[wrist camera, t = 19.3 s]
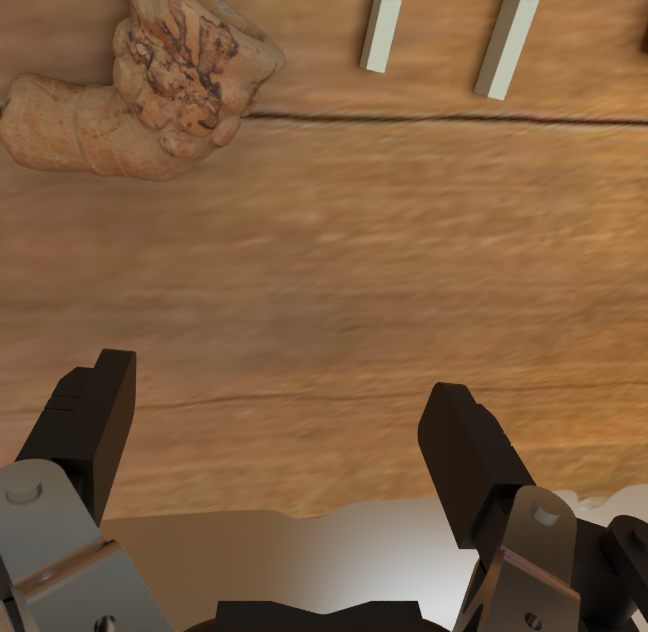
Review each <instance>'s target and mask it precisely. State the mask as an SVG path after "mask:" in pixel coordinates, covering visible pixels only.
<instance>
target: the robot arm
mask: <svg viewBox="0 0 648 632" xmlns="http://www.w3.org/2000/svg"><path fill="white" fill-rule="evenodd" d="M135 395H136V352H135V351H125V350H114V349H103V350H102V352H101V354H100V356H99V358H98V360H97V362H96V364H95V366H94V368H85V367H76V368H75V369H73V370H72V371H71V372H69V373H68V374H67V375H65V376H64V377H63V378H61V379H60V381H59V382H58V384H57V386H56V388H55V390H54V391H53V393H52V396H51V398H50V399H49V400H48V402H47V404H46V406H45V408H44V411H42V413H41V415H40V417H39V419H38V420H37V422H36V424H35V426H34V428H33V429H32V431H31V433H30V435H29V437H28V438H27V440H26V442H25V444H24V446H23V447H22V449H21V451H20V453H19V455H18V456H17V458H16V460H15V461H14V463H11V464H9V465H6V466H4V467H2V468H1V469H0V602H1V605H2V608H3V611H4V613H5V616H6V618H7V621H8V623H9V626H10V628H11V631H12V632H174V631H173V629H172V627H171V626H170V624H169V623H168V621H167V619H166V618H165V616H164V615H163V613H162V611H161V610H160V608H159V606H158V605H157V603H156V601H155V600H154V598H153V596H152V595H151V593H150V592H149V590H148V589H147V587H146V585H145V583H144V582H143V580H142V578H141V577H140V575H139V574H138V572H137V570H136V569H135V567H134V566H133V564H132V562H131V561H130V559H129V557H128V556H127V554H126V552H125V551H124V549H123V548H122V546H121V545H120V544H119V543H118V542H117V541H115V540H111V541H109V542H107V541H106V540H105V539H104V537H103V536H102V534H101V532H100V531H99V526H100V522H101V520H102V516H103V513H104V510H105V507H106V504H107V500H108V497H109V494H110V491H111V488H112V484H113V481H114V478H115V475H116V472H117V469H118V465H119V462H120V459H121V456H122V453H123V449H124V446H125V443H126V440H127V437H128V433H129V430H130V427H131V424H132V420H133V415H134V408H135ZM418 443H419V446H420V449H421V452H422V454H423V457H424V459H425V462H426V465H427V467H428V470H429V473H430V475H431V478H432V480H433V483H434V486H435V488H436V491H437V493H438V496H439V499H440V501H441V504H442V506H443V509H444V511H445V514H446V517H447V519H448V522H449V525H450V527H451V530H452V532H453V535H454V538H455V540H456V543H457V545H458V548H459V549H477V551H478V553H479V556H480V557H479V559H478V561H477V562H476V564H475V567H474V570H473V573H472V576H471V579H470V582H469V585H468V588H467V591H466V594H465V596H464V599H463V603H462V605H461V608H460V611H459V614H458V617H457V620H456V623H455V626H454V628H453V631H452V632H639V630H638V628H637V626H636V625H635V623H634V621H633V620H632V618H631V616H632V615H633V614H634V613H635V612H636V611H637V609H638V608H639V610H640V612H641V613H642V615H643V617H644V618H645V620H646V622H647V623H648V523H646V522H644V521H642V520H640V519H638V518H635V517H632V516H628V515H619V516H617V517H615V518H614V519H613V520H612V521H611V523H610V524H609V525H608V527H607V528H606V527H603V526H600V525H597V524H594V523H591V522H588V521H585V520H581V519H579V518H576V517H575V515H574V513H573V511H572V510H571V508H570V507H569V506H568V505H567V503H566V502H565V501H563V500H562V499H561V498H560V497H559V496H557V495H556V494H554V493H552V492H551V491H549V490H547V489H545V488H542V487H539V486H537V485H536V484H535V482H534V480H533V479H532V477H531V476H530V474H529V472H528V471H527V469H526V467H525V466H524V464H523V462H522V461H521V459H520V457H519V456H518V454H517V452H516V451H515V449H514V447H513V446H511V442H510V441H509V439H508V438H507V436H506V434H504V431H503V429H502V428H501V426H500V424H499V423H498V421H497V419H496V418H495V417H494V416H493V415H492V414H491V413H490V412H489V411H488V410H487V409H486V408H485V407H484V406H483V405H481V404H476V402H475V400H474V398H473V397H472V395H471V393H470V391H469V390H468V388H467V387H466V386H465V385H463V384H453V383H443V382H438V383H436V384H435V385H434V387H433V389H432V392H431V394H430V397H429V399H428V402H427V405H426V407H425V410H424V412H423V415H422V417H421V420H420V422H419V426H418ZM184 632H450V631H449V630H447V629H445V628H443V627H442V626H440V625H438V624H436V623H433V622H431V621H429V620H426V619H423V618H422V615H421V611H420V608H419V604H418V601H370V602H367V603H363V604H360V605H356V606H353V607H350V608H347V609H343V610H340V611H337V612H333V613H330V614H323V615H322V614H317V613H313V612H310V611H306V610H302V609H298V608H294V607H290V606H287V605H283V604H279V603H276V602H272V601H218V606H217V612H216V617H215V618H214V619H211V620H207V621H204V622H202V623H199V624H197V625H195V626H192V627H190V628H189V629H187V630H185V631H184Z"/></svg>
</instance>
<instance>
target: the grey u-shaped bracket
mask: <svg viewBox="0 0 648 632" xmlns="http://www.w3.org/2000/svg"><path fill="white" fill-rule="evenodd" d="M401 1H402V0H374V1H373V5H372V10H371V15H370V19H369V24H368V28H367V33H366V38H365V42H364V47H363V52H362V56H361V61H360V67H363V68H365V69H368V70H373V71H377V72H382V73H384V72H385V68H386V63H387V59H388V55H389V51H390V47H391V43H392V38H393V34H394V30H395V26H396V22H397V18H398V13H399V9H400V5H401ZM538 2H539V0H503V3H502V6H501V9H500V12H499V15H498V18H497V21H496V24H495V27H494V30H493V33H492V36H491V39H490V43H489V46H488V49H487V52H486V55H485V58H484V61H483V64H482V67H481V70H480V73H479V76H478V80H477V83H476V86H475V89H474V93H477V94H480V95H484V96H487V97H491V98H495V99H500V100H504V98H505V95H506V92H507V89H508V87H509V84H510V81H511V78H512V75H513V72H514V70H515V67H516V64H517V61H518V58H519V56H520V53H521V50H522V47H523V44H524V42H525V39H526V36H527V33H528V30H529V27H530V25H531V22H532V19H533V16H534V13H535V11H536V8H537V5H538Z"/></svg>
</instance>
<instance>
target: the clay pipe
mask: <svg viewBox="0 0 648 632" xmlns="http://www.w3.org/2000/svg"><path fill="white" fill-rule="evenodd" d="M129 9H130V16H129V17H128V18H126V19H124V20H123V21H121V22H119V23H118V25H117V28H116V31H115V34H114V39H113V43H112V48H113V54H114V56H115V57H116V58H115V61H114V64H113V73H112V74H113V84H112V85H108V86H105V85H101V84H89V85H88V86H87V87H81V86H77V85H74V84H71V83H67V82H63V81H56V80H54V79H50V78H46V77H42V76H39V75H36V74H32V73H24V74H20V75H18V76H16V77H14V78H12V80H11V87H10V88H9V90H8V95H7V100H6V103H5V106H4V107H3V109H2V110H1V116H0V137H1V140H2V142H3V144H4V145H5V147H6V149H7V150H8V152H9V153H10V155H11V156H12V158H13V159H14V160H15V161H16V162H17V163H18V164H20V165H22V166H24V167H28V168H31V169H35V170H40V171H52V172H82V171H89V172H91V173H93V174H94V175H99V176H120V177H130V178H137V179H142V180H152V181H168V180H173V179H175V178H178V177H180V176H182V175H183V174H185V173H186V172H188V171H189V170H190V169H191V168H192V167H194V166H195V165H196V164H197V163H199V162H200V161H202V160H203V159H205V158H207V157H208V156H209V155H210V154H211V153H212V152H213V151H214V150H215V148H222V147H224V146H226V145H228V143H229V142H230V141H231V140H232V139H233V137H234V135H235V134H236V132H237V130H238V129H239V127H240V124H241V123H240V117H244V116H248V115H249V114H250V112H251V111H252V109H253V108H254V106H255V104H256V102H257V100H258V96H259V88H260V87H261V85H262V84H263V83H265V82H266V81H267V80H268V79H270V78H271V77H272V76H274V75H275V74H276V73H278V72H279V71H280V70H281V69H282V68H283V66H284V65H285V55H284V53H283V51H282V49H281V48H280V47H279V46H278V45H277V44H276V43H275V42H274V41H273V40H272V39H271V38H270V37H269V36H267V35H266V34H265V33H264V32H262V31H261V30H260V29H258V28H257V27H255V26H254V25H252V24H251V23H250V22H249V21H248V20H246V19H245V18H244V17H243V16H242V15H240V14H239V13H238V12H237V11H235V10H234V9H233V8H232V7H230V6H229V5H228V4H227V3H225V2H224V1H223V0H129Z"/></svg>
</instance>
